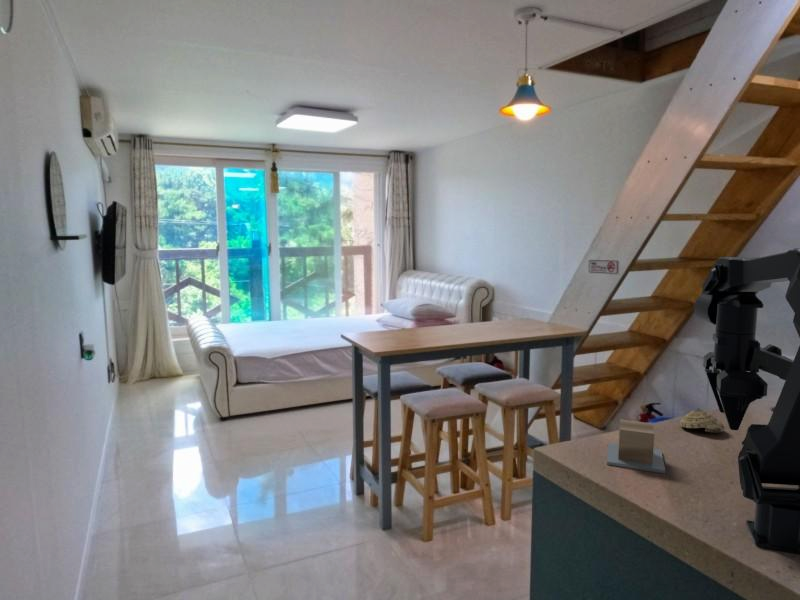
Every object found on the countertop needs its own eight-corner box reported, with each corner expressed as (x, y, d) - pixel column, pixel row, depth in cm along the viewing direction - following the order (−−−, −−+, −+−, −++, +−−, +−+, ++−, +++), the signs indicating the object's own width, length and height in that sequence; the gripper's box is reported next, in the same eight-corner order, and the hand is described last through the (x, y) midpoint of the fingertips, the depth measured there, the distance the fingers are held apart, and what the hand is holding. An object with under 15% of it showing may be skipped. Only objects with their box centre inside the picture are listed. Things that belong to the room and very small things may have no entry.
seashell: (721, 429, 111) (685, 406, 116) (708, 449, 113) (673, 426, 119) (733, 421, 117) (698, 400, 122) (720, 440, 119) (686, 419, 124)
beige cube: (652, 464, 99) (654, 433, 98) (618, 459, 101) (619, 429, 100) (650, 452, 104) (652, 423, 103) (618, 447, 107) (619, 419, 106)
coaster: (665, 473, 96) (665, 470, 96) (607, 464, 100) (607, 461, 100) (661, 452, 105) (661, 449, 105) (607, 445, 109) (608, 442, 109)
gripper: (812, 345, 76) (803, 448, 78) (777, 325, 93) (769, 410, 95) (724, 340, 80) (717, 437, 82) (705, 322, 97) (700, 402, 99)
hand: (728, 420), depth 90 cm, fingers open, 9 cm apart
